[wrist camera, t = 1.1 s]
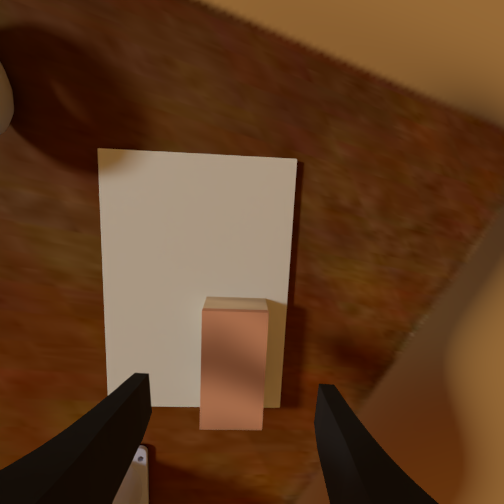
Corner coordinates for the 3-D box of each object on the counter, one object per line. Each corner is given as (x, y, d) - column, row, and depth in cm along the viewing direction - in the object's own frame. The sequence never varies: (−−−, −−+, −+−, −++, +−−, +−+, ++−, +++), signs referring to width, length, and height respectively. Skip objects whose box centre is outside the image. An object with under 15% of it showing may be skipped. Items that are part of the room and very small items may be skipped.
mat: (278, 403, 25) (279, 407, 25) (111, 400, 24) (108, 405, 24) (295, 160, 22) (297, 159, 21) (101, 149, 21) (97, 148, 20)
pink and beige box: (259, 402, 24) (261, 430, 21) (204, 401, 24) (199, 429, 21) (265, 298, 23) (268, 312, 20) (206, 296, 23) (201, 310, 20)
